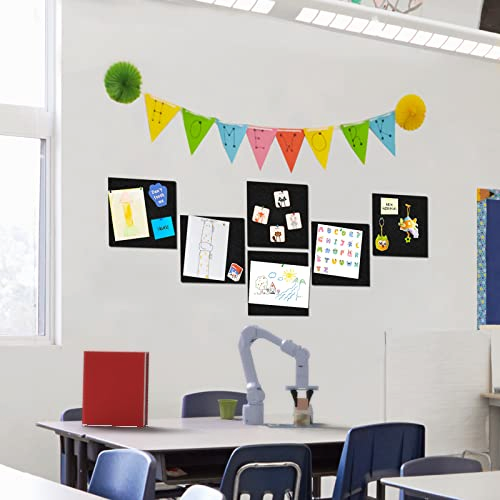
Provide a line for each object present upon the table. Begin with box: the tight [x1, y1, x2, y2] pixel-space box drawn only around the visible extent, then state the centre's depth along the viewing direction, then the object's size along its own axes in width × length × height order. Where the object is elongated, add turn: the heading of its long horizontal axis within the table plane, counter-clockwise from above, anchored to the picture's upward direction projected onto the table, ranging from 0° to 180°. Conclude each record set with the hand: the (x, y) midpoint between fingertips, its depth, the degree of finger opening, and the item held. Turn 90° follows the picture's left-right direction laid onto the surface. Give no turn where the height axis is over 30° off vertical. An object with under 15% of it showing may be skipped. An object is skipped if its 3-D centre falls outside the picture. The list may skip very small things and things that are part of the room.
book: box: [81, 350, 150, 428], centre depth 436 cm, size 27×8×32 cm, turn 83°
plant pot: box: [217, 399, 239, 420], centre depth 476 cm, size 9×9×9 cm
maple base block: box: [293, 414, 311, 426], centre depth 444 cm, size 6×6×5 cm
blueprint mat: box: [264, 423, 325, 429], centre depth 442 cm, size 24×16×1 cm, turn 99°
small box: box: [292, 403, 314, 424], centre depth 454 cm, size 8×6×10 cm
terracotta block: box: [296, 397, 308, 410], centre depth 445 cm, size 4×4×5 cm
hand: (301, 407), depth 445 cm, fingers closed on terracotta block, 4 cm apart
